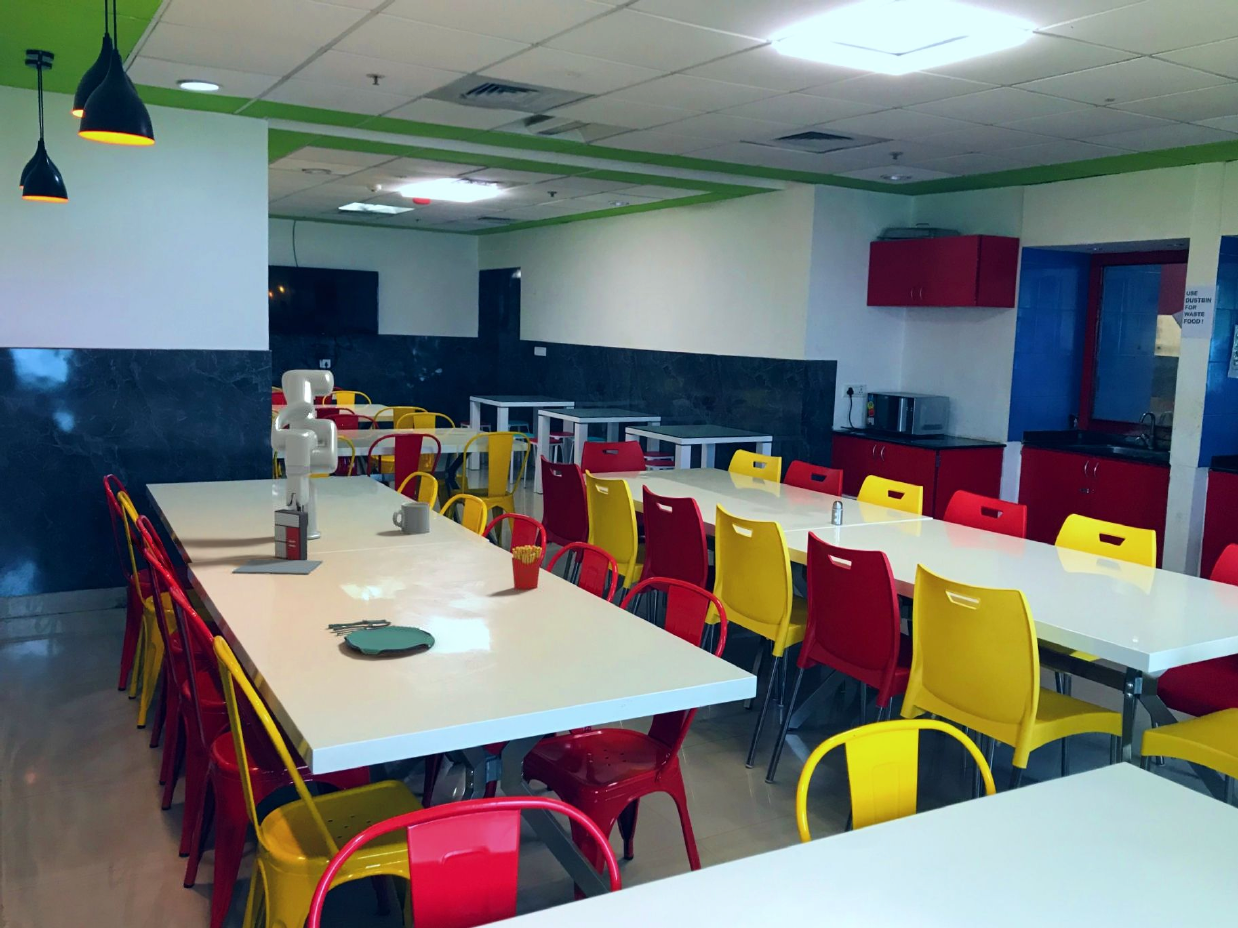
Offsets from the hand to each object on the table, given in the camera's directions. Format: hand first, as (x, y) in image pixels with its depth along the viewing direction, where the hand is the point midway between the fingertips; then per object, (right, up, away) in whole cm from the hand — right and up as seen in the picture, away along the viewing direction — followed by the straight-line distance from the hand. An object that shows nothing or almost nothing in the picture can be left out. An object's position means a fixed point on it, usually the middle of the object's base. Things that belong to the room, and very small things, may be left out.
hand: (299, 526), depth 325 cm
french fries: (+77, -15, -36) cm, 86 cm away
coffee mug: (+28, -4, +40) cm, 49 cm away
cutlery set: (+47, -22, -88) cm, 102 cm away
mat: (0, -11, -20) cm, 23 cm away
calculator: (0, -10, -8) cm, 12 cm away
